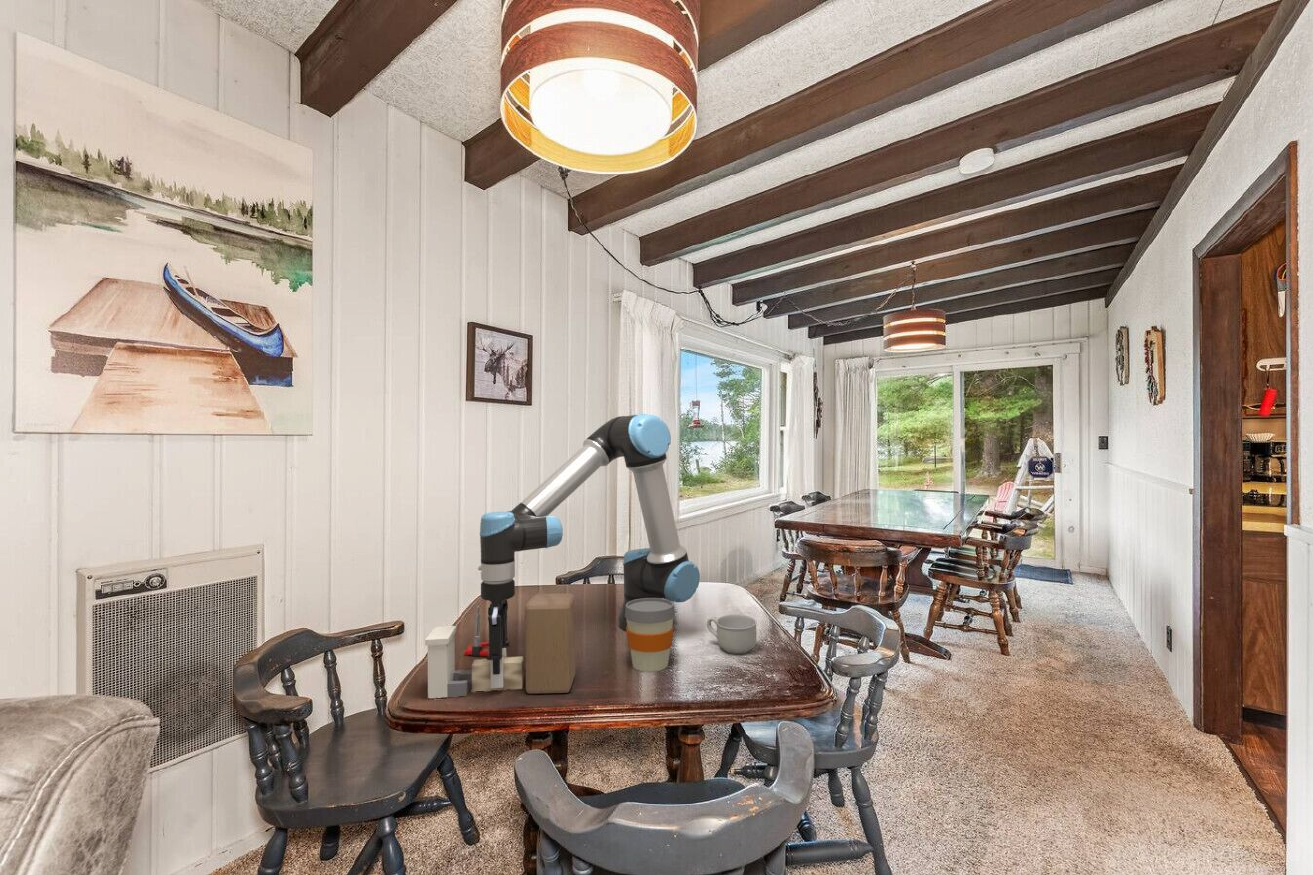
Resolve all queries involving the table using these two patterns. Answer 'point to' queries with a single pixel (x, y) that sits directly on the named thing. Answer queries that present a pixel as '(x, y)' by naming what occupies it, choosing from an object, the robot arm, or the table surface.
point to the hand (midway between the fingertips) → (498, 681)
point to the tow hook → (477, 640)
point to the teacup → (734, 632)
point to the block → (550, 643)
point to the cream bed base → (443, 664)
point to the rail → (481, 674)
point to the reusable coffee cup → (650, 632)
